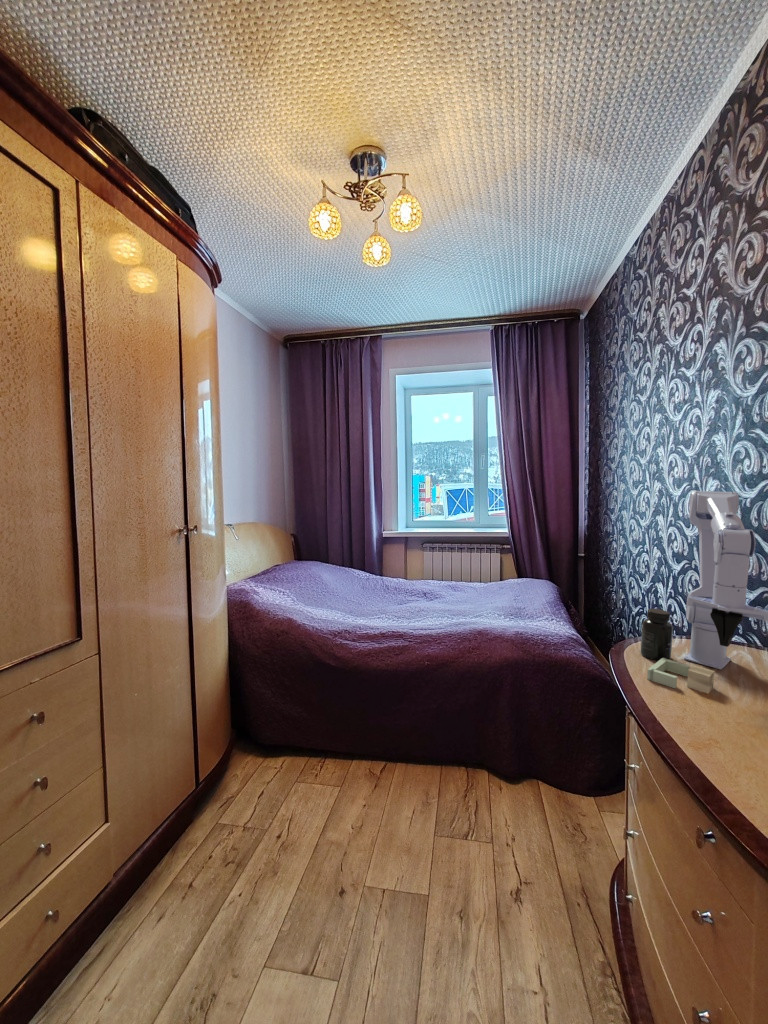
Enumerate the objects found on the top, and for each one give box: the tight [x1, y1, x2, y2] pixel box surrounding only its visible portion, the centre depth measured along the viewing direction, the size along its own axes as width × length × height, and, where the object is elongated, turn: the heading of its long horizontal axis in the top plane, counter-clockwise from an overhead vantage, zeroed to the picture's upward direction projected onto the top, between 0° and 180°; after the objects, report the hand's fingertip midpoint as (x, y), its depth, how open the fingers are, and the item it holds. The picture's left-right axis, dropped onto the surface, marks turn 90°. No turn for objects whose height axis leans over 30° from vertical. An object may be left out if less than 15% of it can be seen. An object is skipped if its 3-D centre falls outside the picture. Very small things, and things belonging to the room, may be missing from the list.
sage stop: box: [646, 658, 690, 689], centre depth 104 cm, size 10×6×2 cm, turn 131°
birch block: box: [686, 664, 715, 695], centre depth 100 cm, size 4×4×4 cm
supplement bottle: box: [640, 608, 674, 662], centre depth 116 cm, size 7×7×12 cm
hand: (724, 644), depth 98 cm, fingers closed
